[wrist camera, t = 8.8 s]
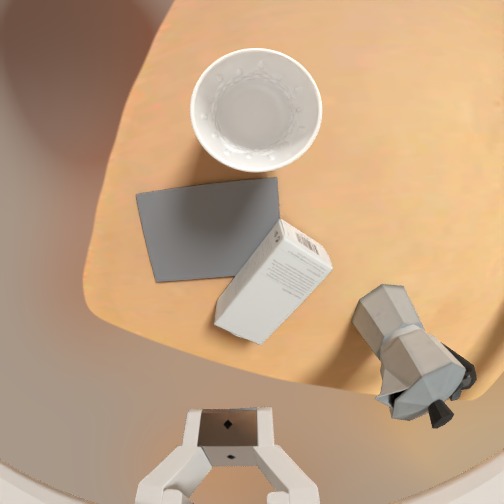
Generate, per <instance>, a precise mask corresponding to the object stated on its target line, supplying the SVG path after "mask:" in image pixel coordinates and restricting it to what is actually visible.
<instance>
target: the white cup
mask: <svg viewBox="0 0 504 504" xmlns="http://www.w3.org/2000/svg"><path fill="white" fill-rule="evenodd" d="M190 118H191V124H192V127H193V130H194V133H195V135H196V137H197V139H198V141H199V142H200V144H201V145H202V147H203V148H204V149H205V150H206V151H207V152H208V153H209V154H210V155H211V156H212V157H213V158H215V159H216V160H217V161H219V162H220V163H222V164H224V165H226V166H228V167H231V168H233V169H236V170H240V171H245V172H268V171H273V170H277V169H280V168H282V167H285V166H287V165H289V164H291V163H292V162H294V161H295V160H297V159H298V158H299V157H301V156H302V155H303V154H304V153H305V152H306V151H307V150H308V148H309V147H310V146H311V144H312V143H313V141H314V140H315V138H316V136H317V134H318V131H319V128H320V125H321V119H322V102H321V97H320V93H319V90H318V88H317V86H316V84H315V82H314V80H313V78H312V77H311V75H310V74H309V73H308V72H307V71H306V69H305V68H304V67H303V66H301V65H300V64H299V63H298V62H297V61H295V60H294V59H292V58H290V57H289V56H287V55H285V54H282V53H280V52H277V51H273V50H269V49H262V48H250V49H242V50H238V51H235V52H232V53H229V54H227V55H225V56H223V57H221V58H219V59H218V60H216V61H215V62H214V63H212V64H211V65H210V66H209V67H208V68H207V69H206V70H205V71H204V72H203V74H202V75H201V76H200V78H199V79H198V81H197V83H196V85H195V87H194V90H193V93H192V97H191V102H190Z"/></svg>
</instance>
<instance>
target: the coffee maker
mask: <svg viewBox="0 0 504 504" xmlns="http://www.w3.org/2000/svg"><path fill="white" fill-rule="evenodd" d="M351 322H352V323H353V325H354V326H355V327H356V329H357V330H358V332H359V333H360V334H361V336H362V337H363V339H364V340H365V341H366V343H367V344H368V345H369V347H370V348H371V349H372V351H373V352H374V353H375V355H376V356H377V357H378V359H379V360H380V361H381V363H382V364H381V369H380V372H381V376H382V380H383V381H382V387H381V392H380V394H379V395H378V396H377V397H376V398H375V399H376V400H378V401H380V402H382V403H384V404H385V405H387V406H389V408H390V413H391V417H392V418H393V419H400V420H407V421H410V420H413V419H415V418H417V417H420V416H422V415H424V414H426V413H429V415H430V420H431V424H432V428H439V427H441V426H443V425H445V424H446V423H447V422H448V421H450V420H451V419H452V417H453V415H454V414H453V412H452V411H451V410H450V409H449V408H448V407H447V405H446V404H445V403H444V402H445V401H446V400H447V399H448V398H450V400H451V401H453V400H457V399H458V398H459V397H460V395H461V392H462V391H461V390H464V389H469V388H470V387H471V386H472V385H473V384H474V383H475V381H476V380H477V378H476V373H475V368H474V365H472V364H471V363H470V362H468V361H467V360H465V359H464V358H463V357H461V356H460V355H458V354H457V353H456V352H454V351H453V350H451V349H450V348H448V347H447V346H446V345H444V344H443V343H441V342H440V341H439V340H438V339H437V338H436V337H435V336H434V335H431V334H428V333H426V332H425V330H424V327H423V325H422V323H421V321H420V319H419V316H418V314H417V312H416V310H415V308H414V306H413V304H412V302H411V300H410V298H409V296H408V294H407V292H406V290H405V288H404V286H397V285H384V284H382V285H380V286H379V287H377V288H376V289H374V290H373V291H371V292H370V293H369V294H367V295H366V296H364V297H363V298H361V299H360V300H359V302H358V305H357V308H356V310H355V313H354V316H353V318H352V321H351Z"/></svg>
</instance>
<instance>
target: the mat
mask: <svg viewBox="0 0 504 504" xmlns="http://www.w3.org/2000/svg"><path fill="white" fill-rule="evenodd" d="M136 199H137V204H138V209H139V213H140V218H141V223H142V227H143V232H144V236H145V240H146V244H147V249H148V253H149V257H150V261H151V265H152V268H153V272H154V276H155V280H156V282H164V281H178V280H191V279H204V278H216V277H228V276H236V275H237V274H238V272H239V271H240V270H241V268H242V267H243V266H244V264H245V263H246V262H247V261H248V259H249V258H250V257H251V255H252V254H253V253H254V252H255V250H256V249H257V248H258V246H259V245H260V244H261V242H262V241H263V240H264V239H265V237H266V236H267V235H268V233H269V232H270V231H271V230H272V228H273V227H274V226H275V224H276V223H277V221H278V220H279V219H280V212H279V197H278V182H277V177H272V178H260V179H248V180H238V181H228V182H219V183H210V184H202V185H194V186H187V187H179V188H172V189H165V190H159V191H152V192H146V193H140V194H136Z"/></svg>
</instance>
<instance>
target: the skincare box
mask: <svg viewBox="0 0 504 504" xmlns="http://www.w3.org/2000/svg"><path fill="white" fill-rule="evenodd" d="M332 270H333V267H332V264H331V261H330V259H329V256H328V254H327V252H326V251H325V249H324V248H323V247H322V246H321V245H320V244H319V243H317V242H316V241H314V240H313V239H311V238H310V237H308V236H307V235H305V234H304V233H302V232H301V231H299V230H298V229H296V228H294V227H293V226H291V225H290V224H288V223H287V222H285V221H284V220H283V219H279V220H278V221H277V223H276V224H275V226H274V227H273V228H272V230H271V231H270V232H269V233H268V235H267V236H266V237H265V239H264V240H263V241H262V242H261V244H260V245H259V246H258V248H257V249H256V250H255V252H254V253H253V254H252V255H251V257H250V258H249V259H248V261H247V262H246V263H245V264H244V266H243V267H242V268H241V270H240V271H239V272H238V274H237V275H236V276H235V277H234V279H233V280H232V281H231V283H230V284H229V285H228V287H227V288H226V289H225V291H224V292H223V293H222V294H221V296H220V297H219V298H218V300H217V306H216V313H215V320H214V325H216V326H218V327H220V328H222V329H225V330H227V331H229V332H230V333H232V334H234V335H235V336H238V337H240V338H243V339H247V340H249V341H252V342H254V343H256V344H259V345H261V344H262V343H263V342H264V341H265V340H266V339H267V338H268V337H269V336H270V335H271V334H272V333H273V332H274V331H275V330H276V329H277V328H278V327H279V326H280V325H281V324H282V323H283V322H284V321H285V320H286V319H287V318H288V317H289V316H290V315H291V314H292V313H293V312H294V311H295V310H296V309H297V308H298V307H299V305H300V304H301V303H302V302H303V301H304V300H305V299H306V298H307V297H308V296H309V295H310V294H311V293H312V292H313V290H314V289H315V288H316V287H317V286H318V285H319V284H320V283H321V282H322V281H323V280H324V279H325V278H326V277H327V275H328V274H329V273H330V272H331V271H332Z"/></svg>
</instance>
